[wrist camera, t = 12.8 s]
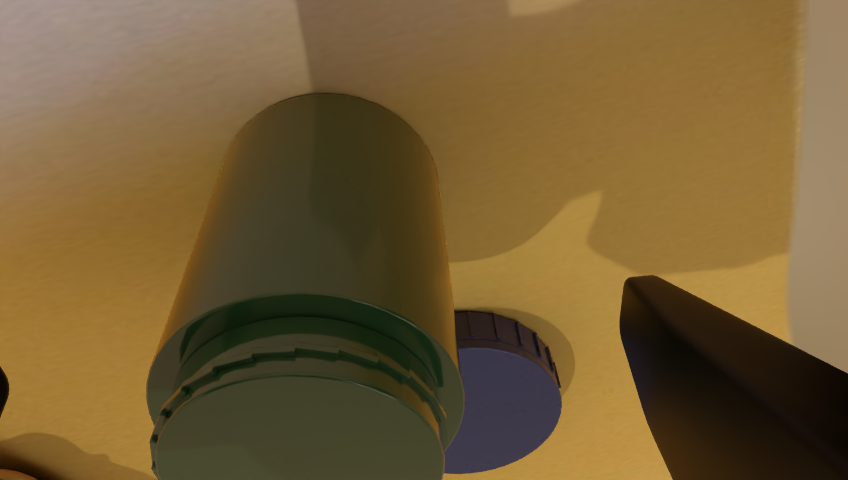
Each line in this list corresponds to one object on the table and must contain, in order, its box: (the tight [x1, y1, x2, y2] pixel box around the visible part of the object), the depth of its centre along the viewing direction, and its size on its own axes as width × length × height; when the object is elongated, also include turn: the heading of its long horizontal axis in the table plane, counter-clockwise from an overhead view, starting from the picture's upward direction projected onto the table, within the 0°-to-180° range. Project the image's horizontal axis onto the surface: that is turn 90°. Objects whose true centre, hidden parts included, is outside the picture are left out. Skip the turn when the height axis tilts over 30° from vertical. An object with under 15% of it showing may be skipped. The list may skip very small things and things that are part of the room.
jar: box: [146, 94, 465, 480], centre depth 17 cm, size 6×6×9 cm
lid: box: [444, 311, 562, 474], centre depth 25 cm, size 7×7×2 cm
